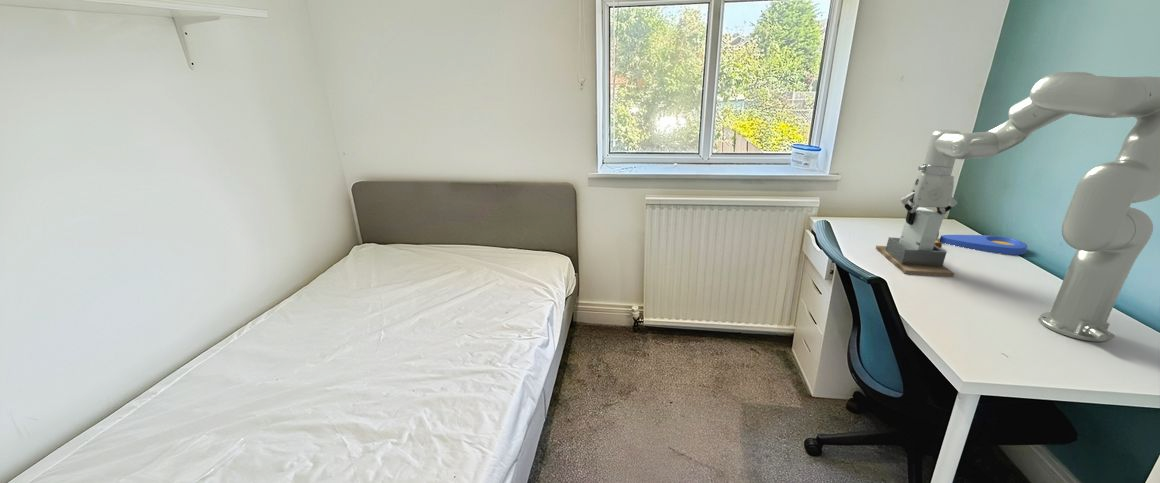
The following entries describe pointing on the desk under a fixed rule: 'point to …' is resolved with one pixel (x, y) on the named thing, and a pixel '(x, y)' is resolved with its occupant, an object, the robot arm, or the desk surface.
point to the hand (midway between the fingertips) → (922, 223)
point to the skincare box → (921, 230)
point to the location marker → (986, 243)
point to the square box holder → (915, 259)
